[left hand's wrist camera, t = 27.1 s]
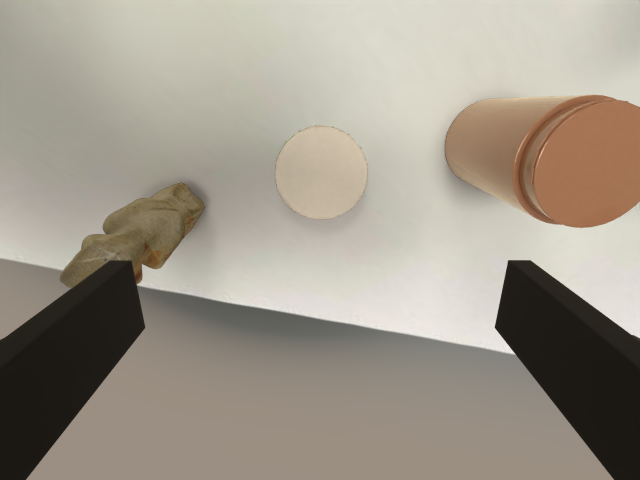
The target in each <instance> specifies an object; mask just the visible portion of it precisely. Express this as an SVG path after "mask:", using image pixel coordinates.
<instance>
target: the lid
mask: <svg viewBox="0 0 640 480" xmlns="http://www.w3.org/2000/svg"><path fill="white" fill-rule="evenodd" d="M367 174H368V171H367V164H366V160H365V157H364V154H363V152H362V150H361V147H360V146H358V144H357V143H356V142H355V141H354V140H353V139H352V138H351V137H350V135H349V134H348V135H347V134H346V133H344V132H343V131H341V130H339V129H336V128H334V127H329V126H316V125H315V126H314V127H310V128H306V129H304V130H302V131H299V132H298V133H297V134H295V135H294V136H293V137H292V138H291V139H290V140H289V141H288V142H286V143H285V145H284V147H283V148H282V150H281V152H280V154H279V156H278V158H277V162H276V168H275V179H276V184H277V188H278V191H279V193H280V195H281V197H282V198H283V200H284V201H285V202H286V204H287V205H288V206H289V207H290V208H291V209H293V210H294V211H296V212H297V213H299V214H301V215H303V216H305V217H308V218H312V219H330V218H334V217H337V216H340V215H342V214H344V213H346V212H347V211H348V210H350V209H351V208H352V207H353V206H354V205H355V204H356V203H357V202H358V201H359V199H360V198H361V196H362V194H363V192H364V190H365V187H366V183H367Z"/></svg>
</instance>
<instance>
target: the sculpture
mask: <svg viewBox="0 0 640 480" xmlns="http://www.w3.org/2000/svg"><path fill="white" fill-rule="evenodd" d="M204 207H205V205H204V203H203V202H202V201H201V200H200V199H199V198H198V197H195V196H194V195H193V194H192V193H191V192H190V189H189V188H188V187H187V186H186V185H185V184H183V183H179V184H175V185H172V186H169V187H167V188H165V189H163V190H161V191H159V192H158V193H156V194H155V195H153V196H152V197H151V198H140V199H138V200H135V201H133V202H132V203H130V204H129V205H127V206H125V207H123V208H121V209H119V210H117V211H115V212H114V213H112V214H110V215H109V216H108V217H107V219H106V220H105V222H104V224H103V230H104V232H105V234H93V235H89V236H87V237H86V238H85V239H84V240H83V242H82V247H81V251H80V252H79V253H78V254H77V255H76V256H75V257H74V258H73V260H72V261H71V262H70V263H69V264H68V265H67V266H66V268H65V269H64V270H63V272H62V274H61V276H60V281H61V282H62V283H63V284H64V285H66V286H67V287H69V288H71V289H72V288H73V287H74V286H76V285H77V284H78V283H80V282H81V281H82V280H84V279H85V278H87V277H88V276H89V275H91V274H92V273H93V272H95V271H96V270H97V269H99V268H100V267H101V266H103V265H104V264H105V263H107V262H108V261H110V260H132V265H133V270H134V275H135V279H136V284H138V283H140V282H141V280H142V264H144V265H146V266H148V267H150V268H153V269H159V268H161V267H162V266H163V265H164V263H165V262H166V260H167V259H168V258H169V256H170V255H171V254H172V252H173V251H174V250H175V248H176V247H177V246H178V245H179V243H180V242H181V240H182V239H183V238H184V237H185V236H186V235H187V233H188V232H189V231H190V230H191V229H192V227H193V226H194V225H195V223H196V222H197V220H198V219H199V216H200V214H201V212H202V211H203V209H204Z"/></svg>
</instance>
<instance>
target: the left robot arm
mask: <svg viewBox="0 0 640 480" xmlns="http://www.w3.org/2000/svg"><path fill="white" fill-rule="evenodd" d="M144 329H145V324H144V319H143V314H142V309H141V304H140V299H139V295H138V290H137V284H136V279H135V275H134V270H133V265H132V260H110V261H108V262H107V263H105V264H104V265H103V266H101V267H100V268H99V269H97V270H96V271H95V272H93V273H92V274H91V275H89V276H88V277H87V278H85V279H84V280H82V281H81V282H80V283H78V284H77V285H76V286H74V287H73V288H72V289H70V290H69V291H68V292H66V293H65V294H63V295H62V296H61V297H59V298H58V299H57V300H55V301H54V302H53V303H51V304H50V305H49V306H47V307H46V308H45V309H43V310H42V311H41V312H39V313H38V314H36V315H35V316H34V317H32V318H31V319H30V320H28V321H27V322H26V323H24V324H23V325H22V326H20V327H19V328H17V329H16V330H15V331H13V332H12V333H11V334H9V335H8V336H7V337H5V338H3V339H1V340H0V480H26V479H27V477H28V476H29V475H30V474H31V472H32V471H33V470H34V469H35V467H36V466H37V465H38V464H39V462H40V461H41V460H42V458H43V457H44V456H45V455H46V453H47V452H48V451H49V450H50V448H51V447H52V446H53V444H54V443H55V442H56V441H57V439H58V438H59V437H60V436H61V434H62V433H63V432H64V430H65V429H66V428H67V427H68V425H69V424H70V423H71V421H72V420H73V419H74V418H75V416H76V415H77V414H78V413H79V411H80V410H81V409H82V407H83V406H84V405H85V404H86V402H87V401H88V400H89V399H90V397H91V396H92V395H93V393H94V392H95V391H96V390H97V388H98V387H99V386H100V385H101V383H102V382H103V381H104V379H105V378H106V377H107V376H108V374H109V373H110V372H111V371H112V369H113V368H114V367H115V365H116V364H117V363H118V362H119V360H120V359H121V358H122V357H123V355H124V354H125V353H126V351H127V350H128V349H129V348H130V346H131V345H132V344H133V343H134V341H135V340H136V339H137V337H138V336H139V335H140V334H141V332H142V331H143V330H144ZM495 329H496V330H497V331H498V332H499V334H500V335H501V336H502V337H503V339H504V340H505V341H506V343H507V344H508V345H509V346H510V348H511V349H512V350H513V351H514V353H515V354H516V355H517V357H518V358H519V359H520V360H521V362H522V363H523V364H524V365H525V367H526V368H527V369H528V371H529V372H530V373H531V374H532V376H533V377H534V378H535V379H536V381H537V382H538V383H539V385H540V386H541V387H542V388H543V390H544V391H545V392H546V393H547V395H548V396H549V397H550V399H551V400H552V401H553V402H554V404H555V405H556V406H557V408H558V409H559V410H560V411H561V413H562V414H563V415H564V416H565V418H566V419H567V420H568V422H569V423H570V424H571V425H572V427H573V428H574V429H575V430H576V432H577V433H578V434H579V436H580V437H581V438H582V439H583V441H584V442H585V443H586V444H587V446H588V447H589V448H590V450H591V451H592V452H593V453H594V455H595V456H596V457H597V458H598V460H599V461H600V462H601V464H602V465H603V466H604V467H605V469H606V470H607V471H608V472H609V474H610V475H611V476H612V477H613V479H614V480H640V338H638V337H636V336H634V335H631V334H629V333H628V332H627V331H625V330H624V329H623V328H621V327H620V326H619V325H617V324H616V323H614V322H613V321H612V320H610V319H609V318H608V317H606V316H605V315H604V314H602V313H601V312H600V311H598V310H597V309H595V308H594V307H593V306H591V305H590V304H589V303H587V302H586V301H585V300H583V299H582V298H581V297H579V296H578V295H577V294H575V293H574V292H572V291H571V290H570V289H568V288H567V287H566V286H564V285H563V284H562V283H560V282H559V281H558V280H556V279H555V278H553V277H552V276H551V275H549V274H548V273H547V272H545V271H544V270H543V269H541V268H540V267H539V266H537V265H536V264H535V263H533V262H532V261H530V260H508V265H507V270H506V275H505V279H504V284H503V289H502V294H501V299H500V304H499V309H498V314H497V319H496V324H495Z"/></svg>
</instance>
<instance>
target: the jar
mask: <svg viewBox="0 0 640 480" xmlns="http://www.w3.org/2000/svg"><path fill="white" fill-rule="evenodd" d="M445 155H446V160H447V162H448V165H449V167H450V169H451V170H452V171H453V173H454V174H455V175H456V176H458V177H459V178H460V179H462V180H464V181H466V182H468V183H470V184H471V185H473V186H475V187H477V188H479V189H481V190H483V191H485V192H487V193H489V194H491V195H492V196H494V197H496V198H498V199H500V200H502V201H504V202H506V203H508V204H510V205H512V206H513V207H515V208H517V209H519V210H521V211H523V212H525V213H527V214H529V215H531V216H533V217H534V218H536V219H538V220H540V221H543V222H546V223H551V224H559V225H565V226H570V227H577V228H585V227H593V226H598V225H602V224H605V223H608V222H610V221H613V220H615V219H616V218H618V217H620V216H622V215H623V214H625V213H626V212H628V211H629V210H630V209H632V208H633V207H634V206H635V205H636V204H637V203H638V202H639V201H640V107H638V106H636V105H633V104H631V103H628V101H621V100H616V99H614V98H612V97H607V96H602V95H578V96H551V97H525V98H498V99H486V100H482V101H479V102H476V103H474V104H472V105H470V106H469V107H467V108H466V109H465V110H463V111H462V112H461V113H460V114H459V115H458V116H457V117H456V119H455V120H454V121H453V123H452V125H451V126H450V129H449V131H448V134H447V137H446V142H445Z"/></svg>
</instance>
